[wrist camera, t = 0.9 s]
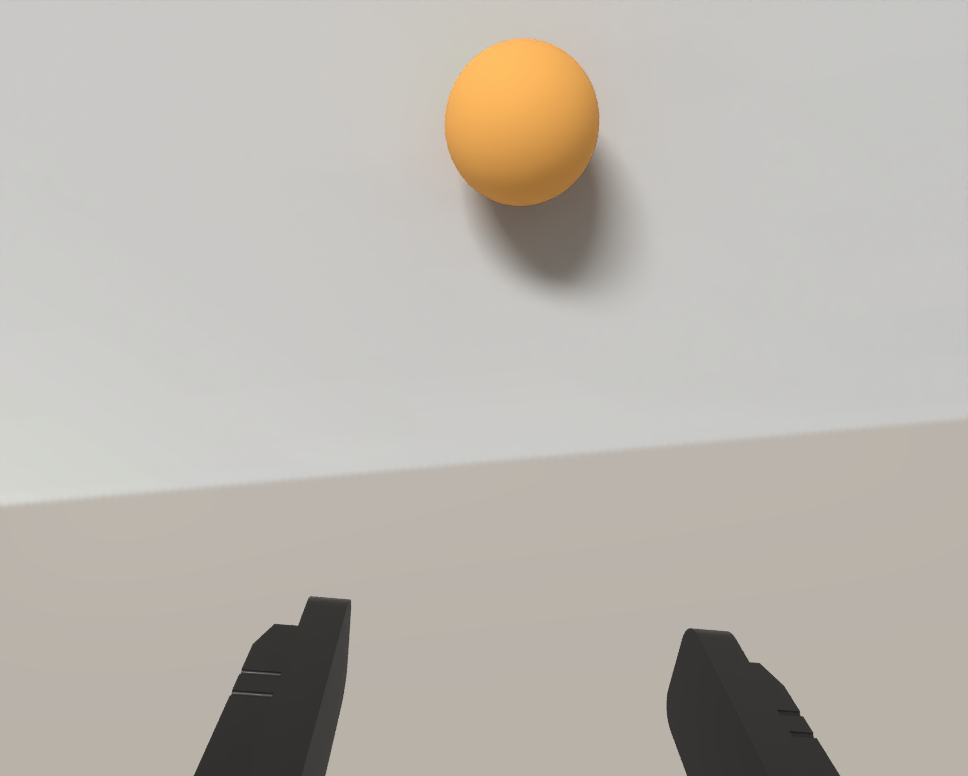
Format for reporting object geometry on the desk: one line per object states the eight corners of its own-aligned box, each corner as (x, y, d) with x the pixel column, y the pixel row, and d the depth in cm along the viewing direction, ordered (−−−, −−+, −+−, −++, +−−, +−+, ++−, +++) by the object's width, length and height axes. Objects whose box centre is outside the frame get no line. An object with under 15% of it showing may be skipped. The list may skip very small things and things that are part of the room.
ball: (595, 64, 24) (630, 35, 19) (571, 210, 26) (598, 219, 21) (454, 44, 24) (452, 8, 19) (440, 193, 26) (434, 198, 20)
